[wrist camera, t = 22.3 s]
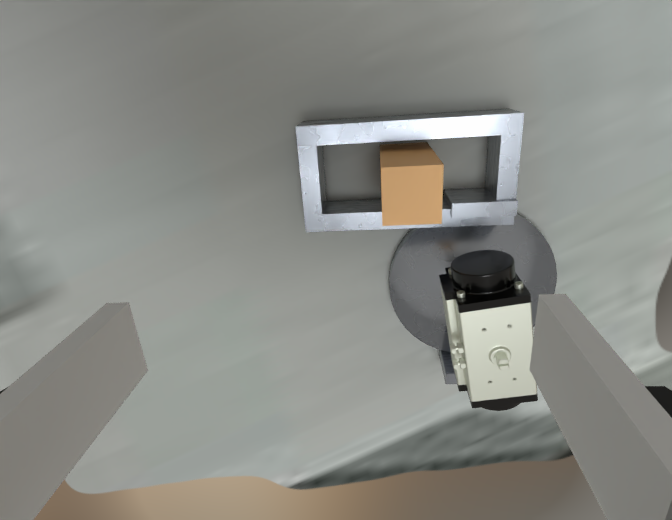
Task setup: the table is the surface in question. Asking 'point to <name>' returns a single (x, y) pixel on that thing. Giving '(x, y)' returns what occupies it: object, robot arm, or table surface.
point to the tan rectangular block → (410, 184)
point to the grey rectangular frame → (368, 213)
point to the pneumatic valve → (489, 329)
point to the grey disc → (450, 242)
